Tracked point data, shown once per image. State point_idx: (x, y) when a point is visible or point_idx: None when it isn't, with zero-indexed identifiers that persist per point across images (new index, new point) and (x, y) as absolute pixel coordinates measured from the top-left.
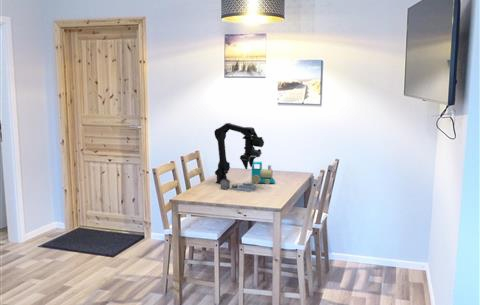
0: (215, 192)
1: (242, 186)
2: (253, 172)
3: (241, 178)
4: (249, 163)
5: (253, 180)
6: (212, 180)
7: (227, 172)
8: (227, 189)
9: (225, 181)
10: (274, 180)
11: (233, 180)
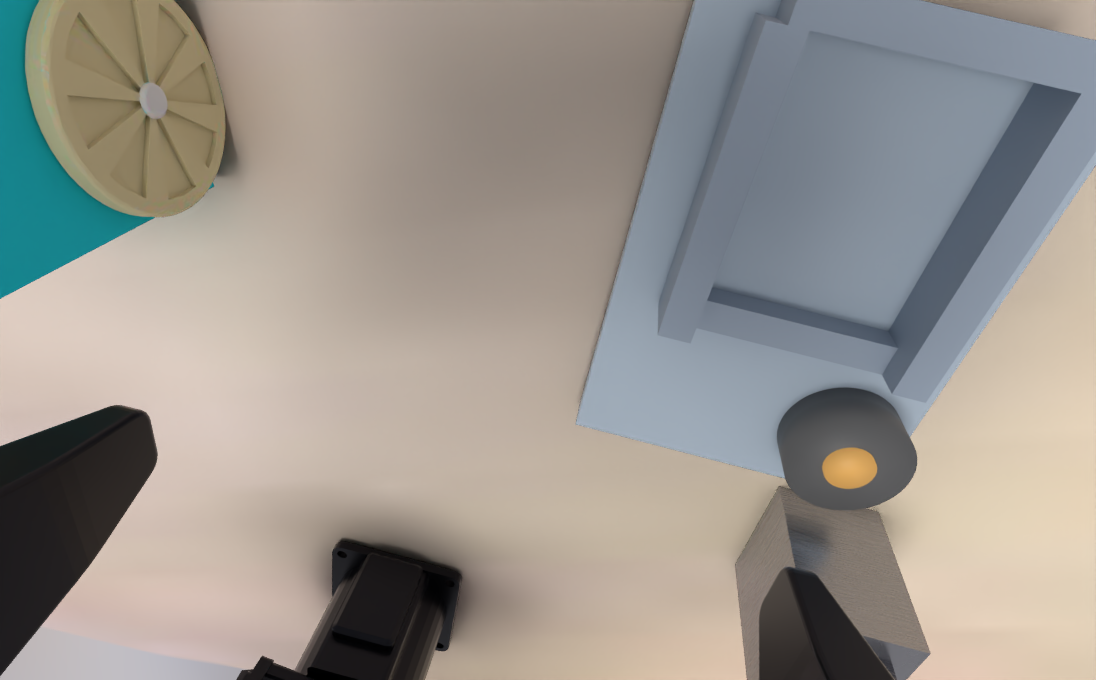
0: (1069, 633)
1: (972, 312)
2: (8, 230)
3: (4, 388)
4: (38, 624)
5: (191, 154)
6: None
7: (257, 675)
8: (867, 511)
9: (909, 667)
10: None
11: (195, 475)
